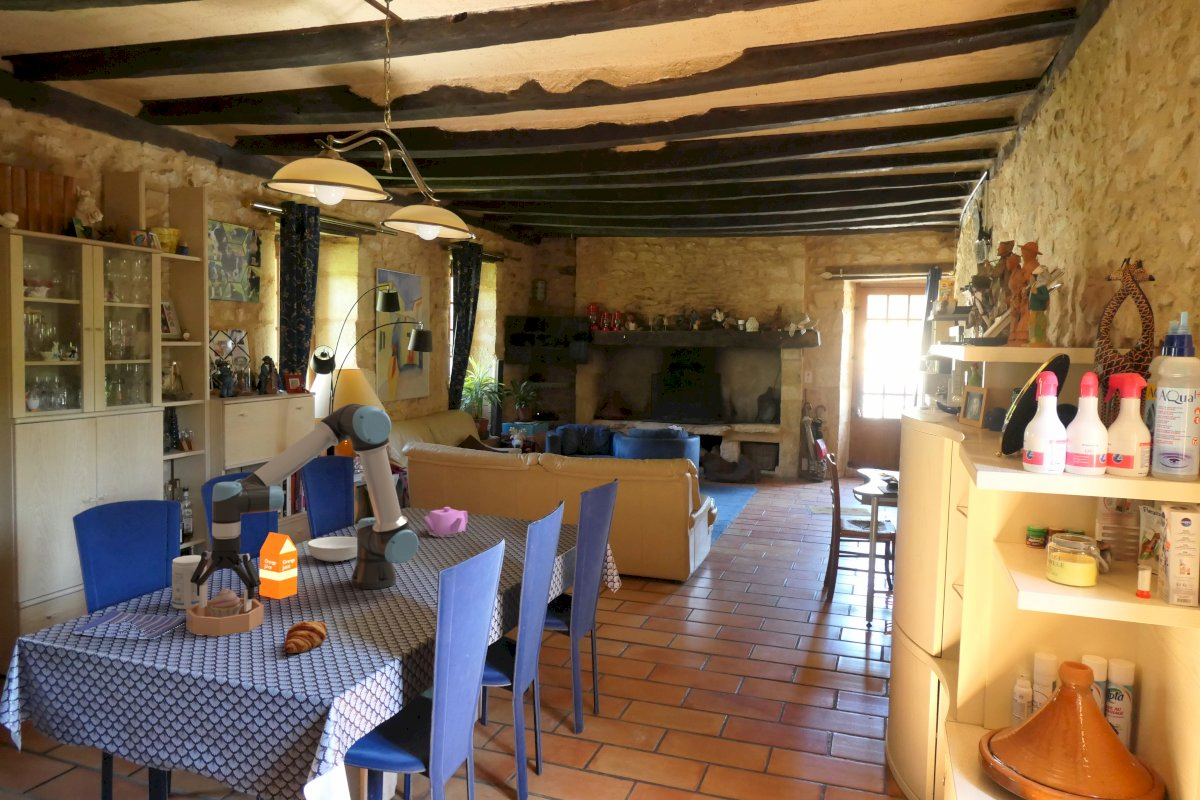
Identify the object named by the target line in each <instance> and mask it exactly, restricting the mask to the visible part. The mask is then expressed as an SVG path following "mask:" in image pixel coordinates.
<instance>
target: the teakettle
mask: <svg viewBox="0 0 1200 800" xmlns="http://www.w3.org/2000/svg"><path fill="white" fill-rule="evenodd" d="M468 517H469V516H468V511H467V510H458V509H455V508H454V509H453V508H451V507H450V506H445V507H443V508H442V509H434V510H430V512H429V515H426V516H423V520H424V521H425V523H426V526H427V527H426V532H427V531H428V532H431V533H434V534H437V535H445V534H452V533H457V532H462V531H465V532H466V525H467V524H469V520H468ZM428 532H427V533H428Z"/></svg>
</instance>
